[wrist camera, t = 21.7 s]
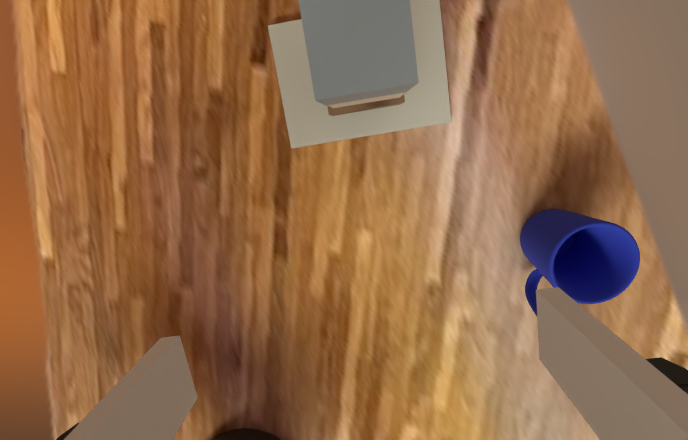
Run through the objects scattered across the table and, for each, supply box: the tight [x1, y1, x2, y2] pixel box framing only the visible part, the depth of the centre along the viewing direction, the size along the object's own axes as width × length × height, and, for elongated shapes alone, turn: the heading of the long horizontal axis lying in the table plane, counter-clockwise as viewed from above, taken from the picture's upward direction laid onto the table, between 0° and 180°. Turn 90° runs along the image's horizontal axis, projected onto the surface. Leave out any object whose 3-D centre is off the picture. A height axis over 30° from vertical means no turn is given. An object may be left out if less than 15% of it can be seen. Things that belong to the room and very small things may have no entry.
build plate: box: [268, 0, 451, 149], centre depth 42 cm, size 18×13×1 cm
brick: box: [298, 0, 419, 106], centre depth 27 cm, size 6×6×7 cm
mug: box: [520, 209, 640, 316], centre depth 42 cm, size 8×12×10 cm
